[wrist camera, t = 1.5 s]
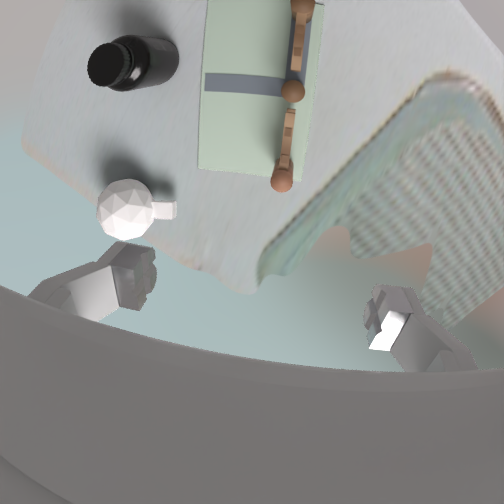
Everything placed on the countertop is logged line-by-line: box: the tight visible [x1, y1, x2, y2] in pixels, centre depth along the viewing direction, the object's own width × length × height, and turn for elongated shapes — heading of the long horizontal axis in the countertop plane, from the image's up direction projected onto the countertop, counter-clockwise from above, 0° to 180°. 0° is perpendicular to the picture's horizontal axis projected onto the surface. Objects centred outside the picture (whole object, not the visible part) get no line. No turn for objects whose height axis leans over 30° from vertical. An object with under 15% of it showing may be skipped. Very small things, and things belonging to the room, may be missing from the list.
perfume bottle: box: [96, 179, 177, 241], centre depth 39 cm, size 9×9×12 cm
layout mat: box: [198, 0, 324, 181], centre depth 31 cm, size 24×14×1 cm, turn 175°
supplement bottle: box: [87, 35, 179, 92], centre depth 26 cm, size 7×7×12 cm
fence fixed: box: [281, 0, 315, 103], centre depth 25 cm, size 12×2×7 cm, turn 175°
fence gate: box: [270, 108, 296, 192], centre depth 32 cm, size 9×2×6 cm, turn 175°
